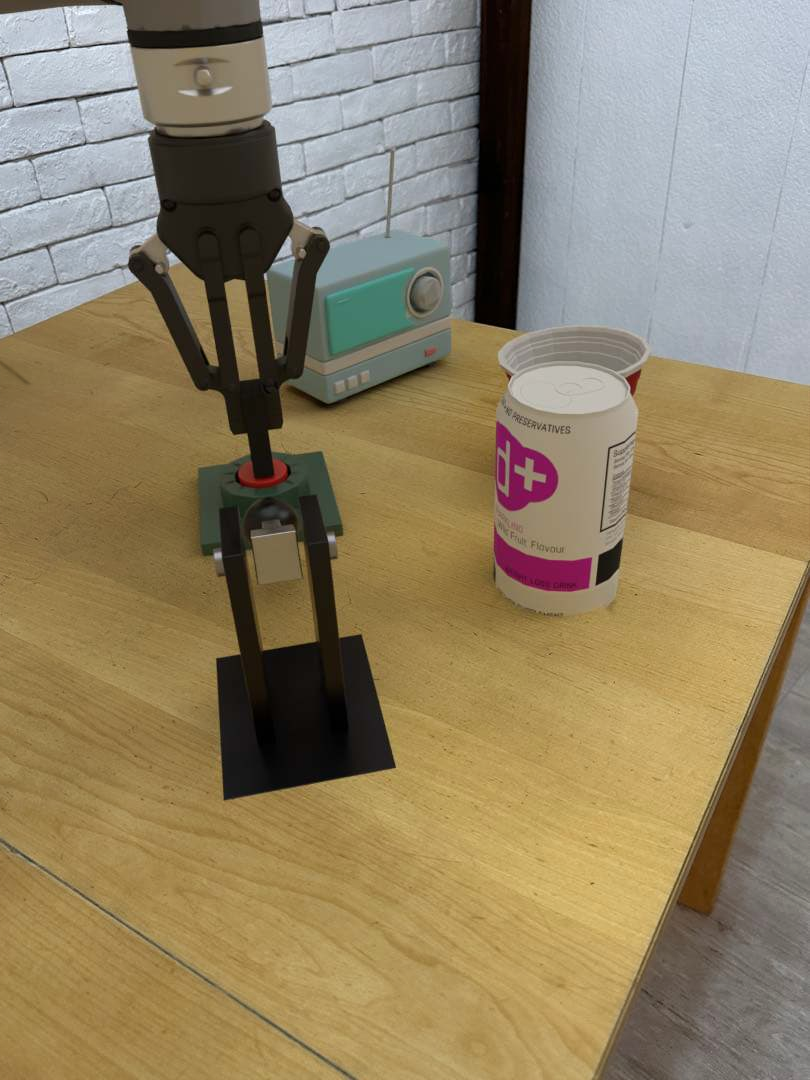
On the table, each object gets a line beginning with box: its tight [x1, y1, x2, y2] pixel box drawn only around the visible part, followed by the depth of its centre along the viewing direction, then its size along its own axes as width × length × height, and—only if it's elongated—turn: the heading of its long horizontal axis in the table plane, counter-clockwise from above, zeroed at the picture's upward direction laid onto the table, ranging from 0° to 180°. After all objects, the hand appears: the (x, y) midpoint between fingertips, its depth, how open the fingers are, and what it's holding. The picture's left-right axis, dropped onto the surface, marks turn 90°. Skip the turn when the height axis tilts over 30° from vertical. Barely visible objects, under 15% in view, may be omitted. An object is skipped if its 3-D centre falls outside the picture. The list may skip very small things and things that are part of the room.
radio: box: [265, 146, 452, 405], centre depth 84 cm, size 16×9×20 cm, turn 131°
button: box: [238, 459, 288, 489], centre depth 68 cm, size 4×4×2 cm
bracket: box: [212, 494, 397, 802], centre depth 48 cm, size 11×9×14 cm
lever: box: [242, 497, 304, 586], centre depth 51 cm, size 16×4×4 cm, turn 12°
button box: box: [197, 450, 344, 557], centre depth 68 cm, size 11×10×4 cm
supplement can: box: [492, 362, 640, 617], centre depth 57 cm, size 8×8×15 cm
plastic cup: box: [497, 324, 653, 398], centre depth 68 cm, size 11×11×12 cm
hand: (263, 467), depth 67 cm, fingers closed
